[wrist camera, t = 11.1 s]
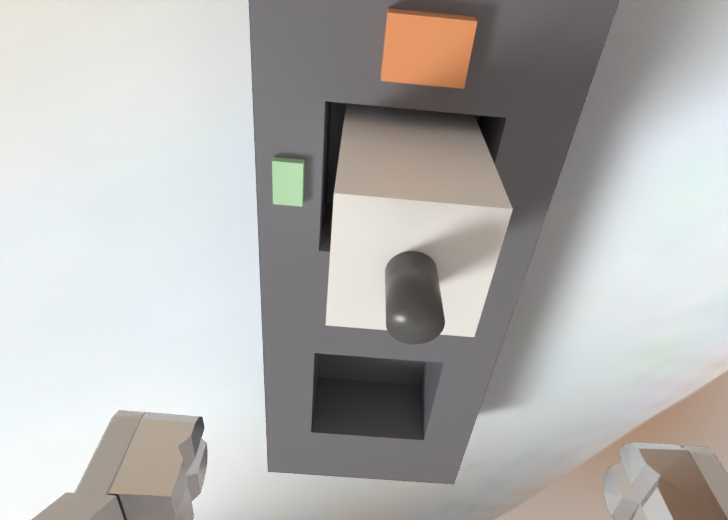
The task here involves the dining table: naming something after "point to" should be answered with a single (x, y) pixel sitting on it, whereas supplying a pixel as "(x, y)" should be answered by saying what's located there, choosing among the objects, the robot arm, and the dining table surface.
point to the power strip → (316, 192)
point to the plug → (413, 223)
